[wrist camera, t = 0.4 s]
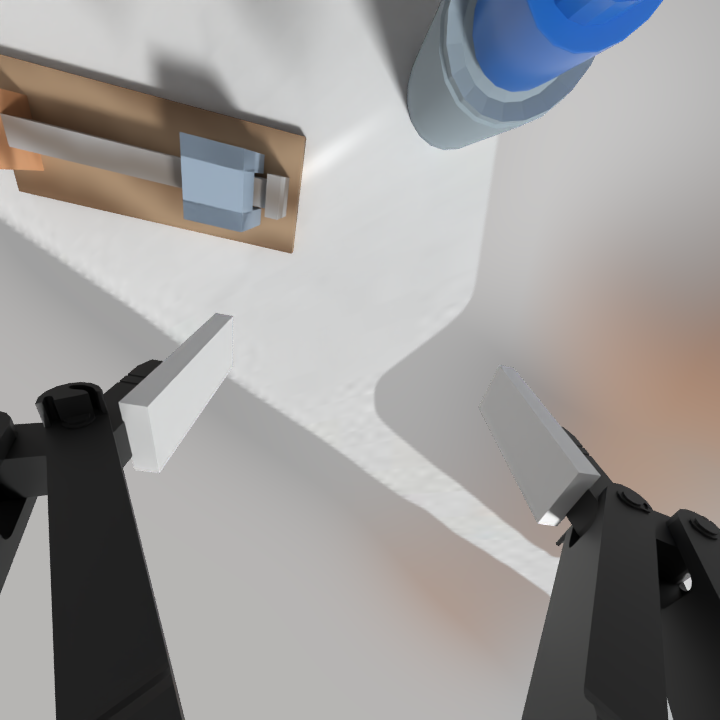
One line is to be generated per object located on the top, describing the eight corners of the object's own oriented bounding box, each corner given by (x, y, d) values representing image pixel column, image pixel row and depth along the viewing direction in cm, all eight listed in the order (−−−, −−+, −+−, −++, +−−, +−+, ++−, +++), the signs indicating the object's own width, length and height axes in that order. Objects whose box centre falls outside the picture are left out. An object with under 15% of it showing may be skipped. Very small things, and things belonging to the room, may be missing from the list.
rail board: (-8, 53, 28) (-113, 16, 22) (306, 138, 31) (292, 126, 24) (28, 190, 33) (-48, 192, 27) (292, 251, 36) (279, 265, 30)
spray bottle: (525, 59, 28) (1124, -397, 6) (468, 166, 32) (704, 129, 10) (438, 0, 26) (840, -946, 4) (390, 122, 30) (469, -40, 8)
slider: (211, 140, 30) (179, 131, 24) (264, 154, 30) (244, 148, 25) (212, 213, 33) (183, 219, 27) (260, 224, 33) (241, 232, 28)
